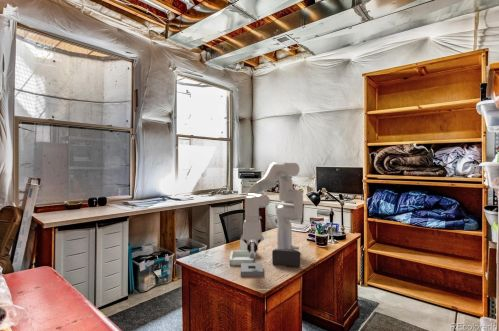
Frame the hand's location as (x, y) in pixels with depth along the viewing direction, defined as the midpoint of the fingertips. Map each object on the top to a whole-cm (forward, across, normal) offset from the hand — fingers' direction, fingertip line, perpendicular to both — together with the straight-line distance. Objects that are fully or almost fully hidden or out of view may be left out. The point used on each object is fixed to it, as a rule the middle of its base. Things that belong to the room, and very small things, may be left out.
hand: (252, 251), depth 154 cm
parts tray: (+12, +6, -16) cm, 21 cm away
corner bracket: (+13, +2, -32) cm, 35 cm away
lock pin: (+4, 0, 0) cm, 4 cm away
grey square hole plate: (+12, 0, +1) cm, 12 cm away
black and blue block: (+12, -20, -8) cm, 25 cm away
